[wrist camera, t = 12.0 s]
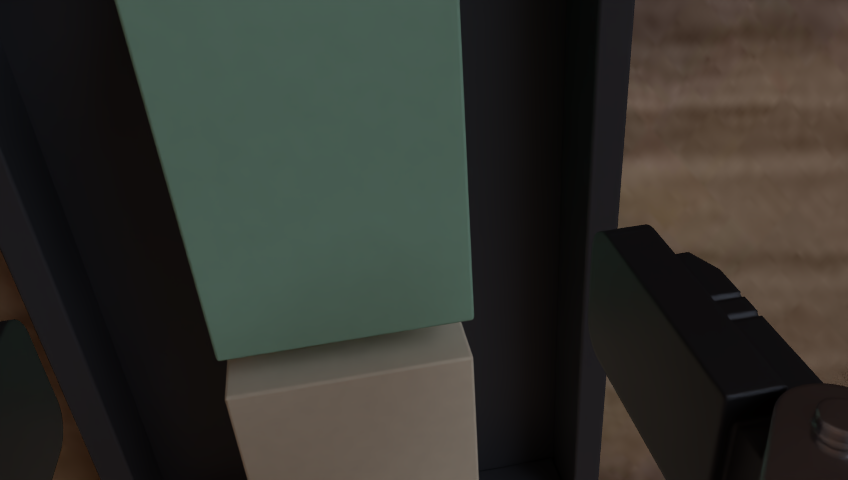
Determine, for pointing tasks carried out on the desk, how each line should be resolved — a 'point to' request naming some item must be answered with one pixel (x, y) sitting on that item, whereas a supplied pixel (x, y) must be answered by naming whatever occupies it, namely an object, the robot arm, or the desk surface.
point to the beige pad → (358, 409)
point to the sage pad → (311, 163)
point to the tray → (170, 271)
